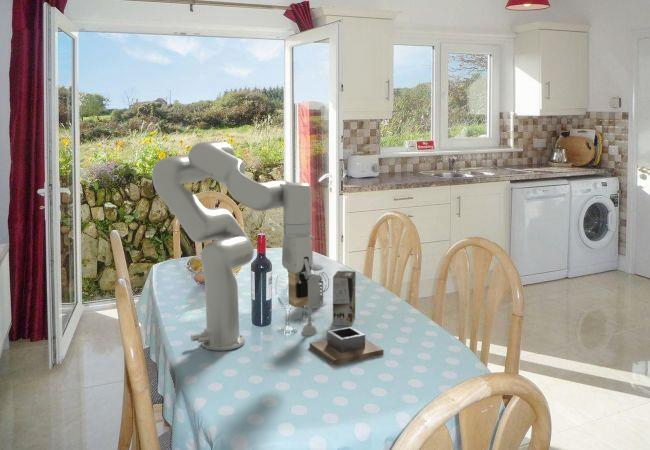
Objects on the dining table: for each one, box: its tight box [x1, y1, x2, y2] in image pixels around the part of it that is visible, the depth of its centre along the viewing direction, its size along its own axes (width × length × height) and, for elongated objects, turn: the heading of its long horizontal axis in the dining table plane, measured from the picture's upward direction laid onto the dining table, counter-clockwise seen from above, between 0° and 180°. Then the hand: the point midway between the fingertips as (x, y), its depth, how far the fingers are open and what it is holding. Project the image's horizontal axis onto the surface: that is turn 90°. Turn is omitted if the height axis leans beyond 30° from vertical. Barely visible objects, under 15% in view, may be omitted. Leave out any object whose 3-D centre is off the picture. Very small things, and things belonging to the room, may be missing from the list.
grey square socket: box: [326, 326, 366, 353], centre depth 183 cm, size 8×8×4 cm
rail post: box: [287, 269, 308, 308], centre depth 173 cm, size 4×4×12 cm
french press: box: [304, 235, 330, 309], centre depth 226 cm, size 10×12×25 cm
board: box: [309, 338, 384, 366], centre depth 184 cm, size 16×15×2 cm
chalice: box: [301, 273, 322, 336], centre depth 198 cm, size 7×7×18 cm
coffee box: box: [332, 270, 356, 327], centre depth 209 cm, size 9×6×16 cm
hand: (298, 294), depth 173 cm, fingers closed on rail post, 4 cm apart
